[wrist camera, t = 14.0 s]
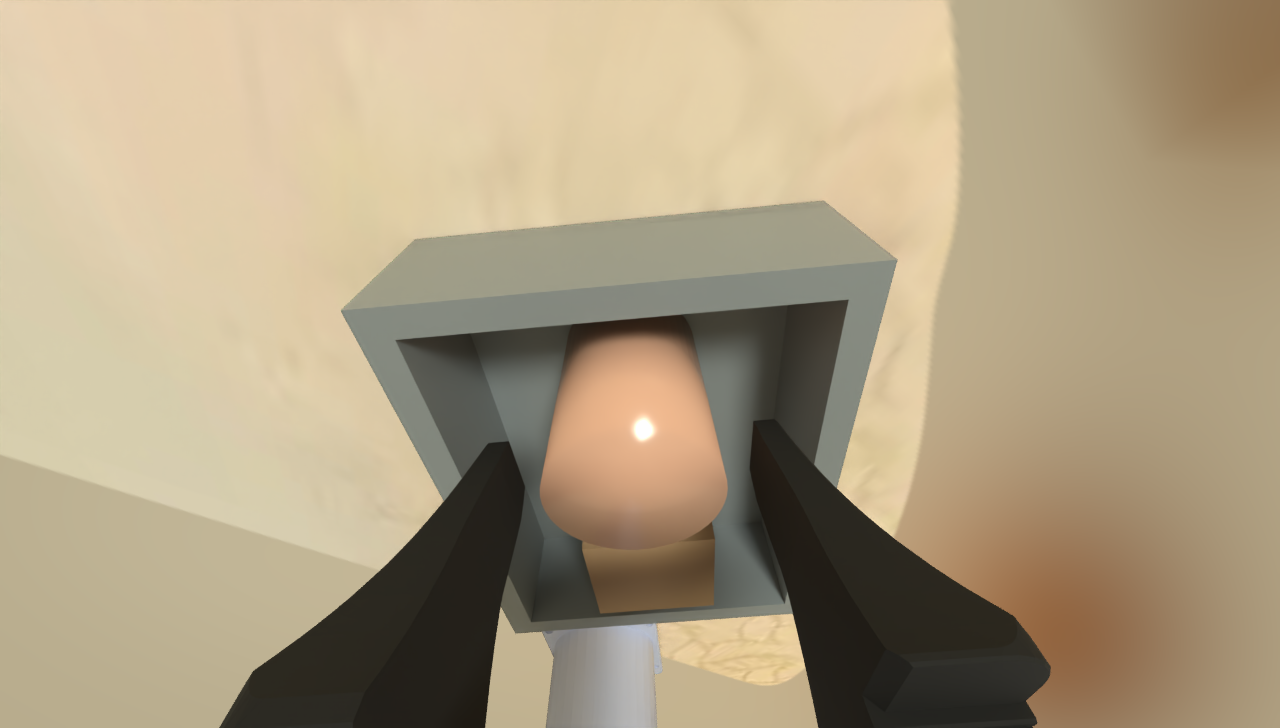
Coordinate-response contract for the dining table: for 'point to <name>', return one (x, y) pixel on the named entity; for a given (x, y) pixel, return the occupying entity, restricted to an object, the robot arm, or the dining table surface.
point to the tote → (617, 290)
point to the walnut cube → (654, 575)
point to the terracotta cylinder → (632, 437)
